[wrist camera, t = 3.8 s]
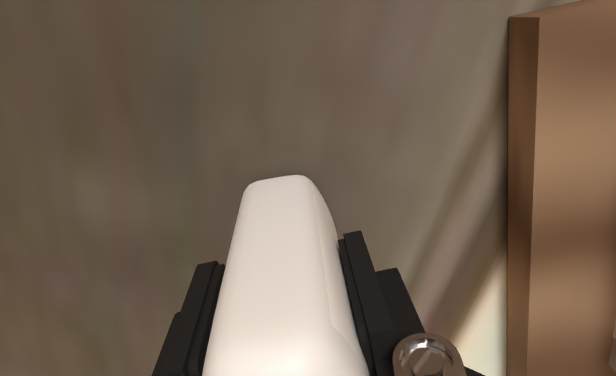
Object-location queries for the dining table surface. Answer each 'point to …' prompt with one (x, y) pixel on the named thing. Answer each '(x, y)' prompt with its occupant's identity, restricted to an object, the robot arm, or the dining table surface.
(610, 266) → the bottle stand
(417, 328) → the robot arm
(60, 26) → the dining table surface
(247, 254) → the eye dropper bottle
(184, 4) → the dining table surface
